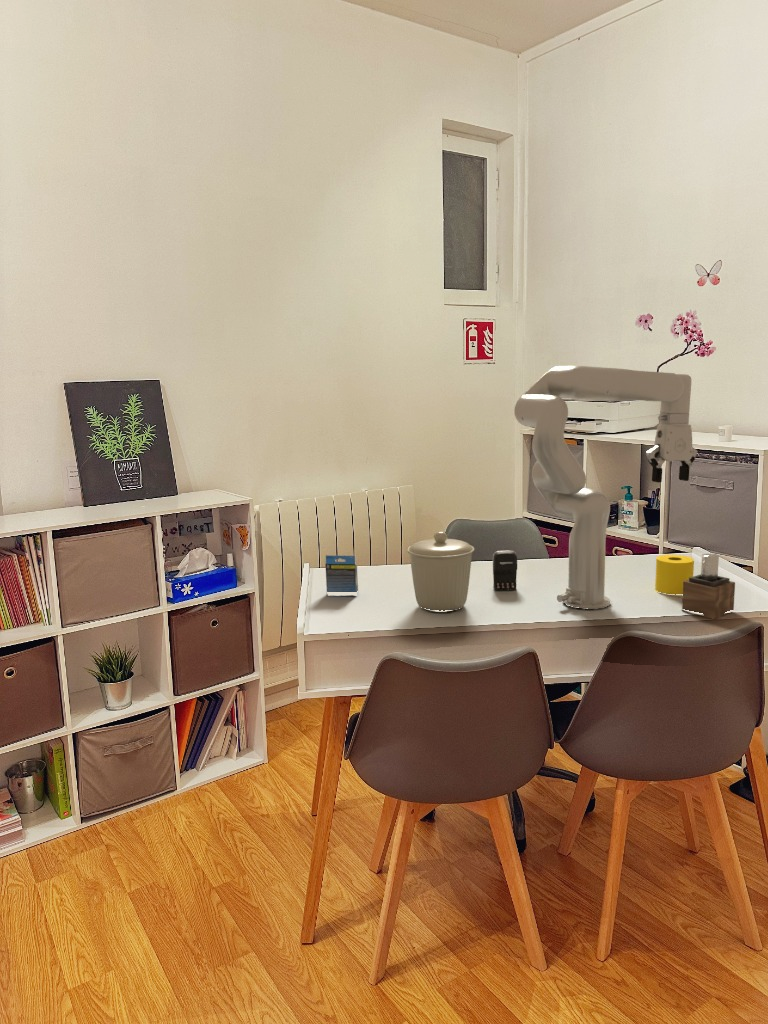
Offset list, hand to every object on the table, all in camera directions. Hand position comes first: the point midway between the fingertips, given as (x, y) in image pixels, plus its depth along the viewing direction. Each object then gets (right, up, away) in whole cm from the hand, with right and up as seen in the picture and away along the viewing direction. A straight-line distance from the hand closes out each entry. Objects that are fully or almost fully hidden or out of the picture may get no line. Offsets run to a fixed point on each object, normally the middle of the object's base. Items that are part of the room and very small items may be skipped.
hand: (670, 481), depth 223 cm
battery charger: (-45, -32, +10) cm, 56 cm away
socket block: (+4, -35, -15) cm, 38 cm away
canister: (-64, -35, -5) cm, 73 cm away
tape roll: (+3, -31, +4) cm, 32 cm away
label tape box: (-92, -33, +9) cm, 98 cm away
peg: (+4, -28, -16) cm, 32 cm away
